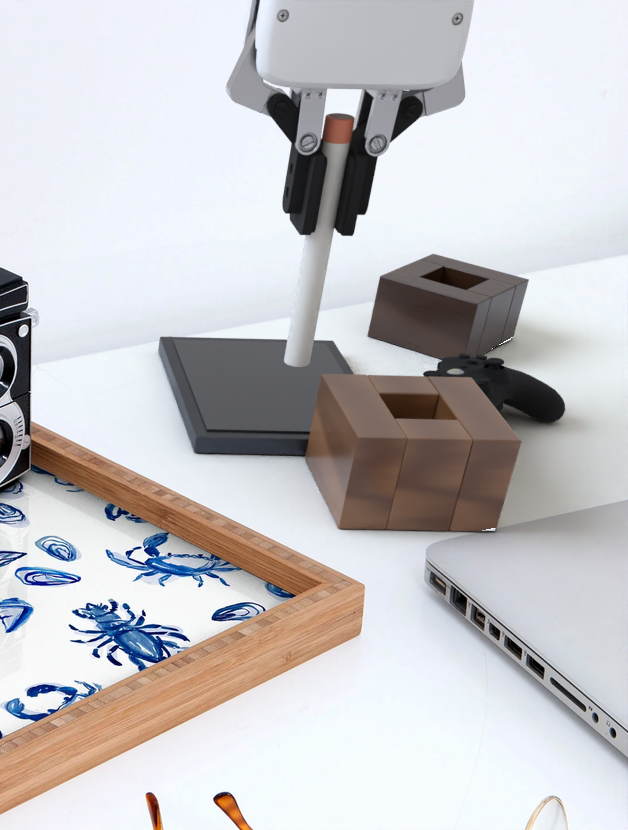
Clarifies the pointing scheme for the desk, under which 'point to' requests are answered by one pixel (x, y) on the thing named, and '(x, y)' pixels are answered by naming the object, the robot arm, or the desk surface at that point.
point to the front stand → (410, 453)
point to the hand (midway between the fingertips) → (320, 225)
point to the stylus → (318, 243)
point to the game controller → (505, 385)
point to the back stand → (446, 307)
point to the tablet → (246, 392)
